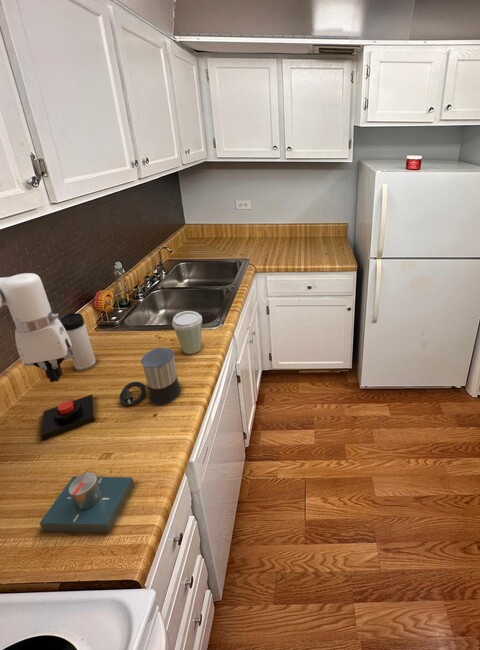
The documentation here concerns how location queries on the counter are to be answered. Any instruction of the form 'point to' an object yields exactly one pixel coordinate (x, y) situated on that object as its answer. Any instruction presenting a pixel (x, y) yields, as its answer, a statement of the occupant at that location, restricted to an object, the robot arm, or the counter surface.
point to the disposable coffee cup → (188, 330)
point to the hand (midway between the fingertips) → (56, 378)
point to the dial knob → (85, 491)
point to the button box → (68, 418)
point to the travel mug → (79, 341)
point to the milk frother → (156, 379)
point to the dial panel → (94, 518)
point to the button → (66, 407)
